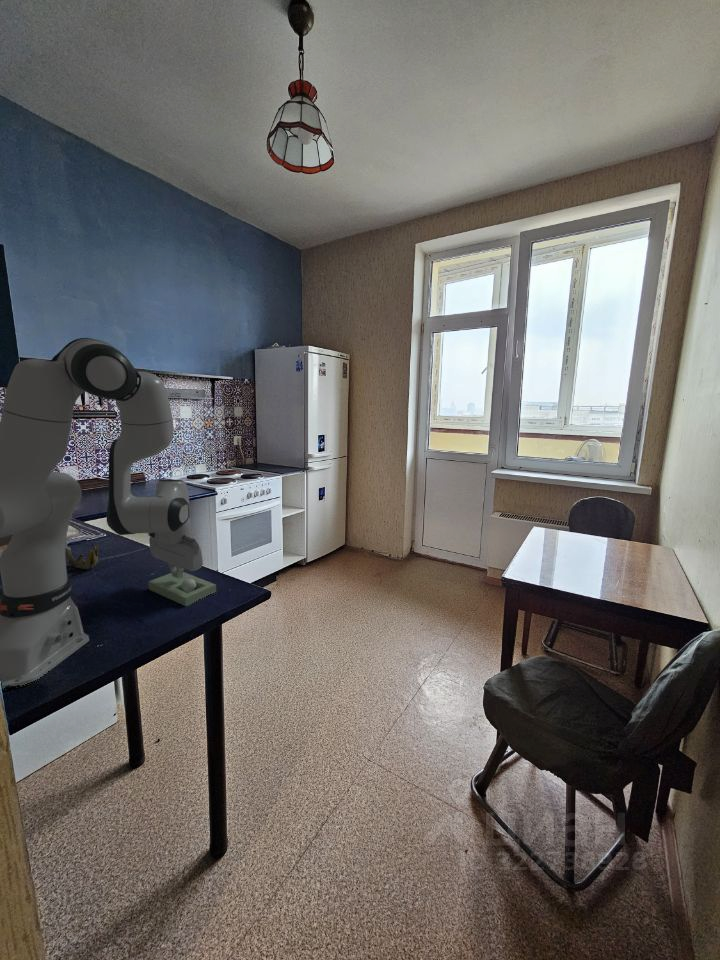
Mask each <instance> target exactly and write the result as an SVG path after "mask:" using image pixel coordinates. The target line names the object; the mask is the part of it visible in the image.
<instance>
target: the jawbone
mask: <svg viewBox="0 0 720 960" xmlns="http://www.w3.org/2000/svg"><path fill="white" fill-rule="evenodd" d="M91 545H92V547H93V548H94V549H92V550H91V549H90V550H88V551H87V555H88V556H87V557H88V558H87V560H86V559H85V556H84V555H83V553H80V554H79V556H78V557H77V560H76V559H75V558H74V556H73V554H72V553H71V554H70V552H69V551H68V549H66V555H65V558H66V564H69V565H71V566H73V567H75V568H78V569H81V570H91V569H93V568H95V567H96V565H98V563H99V545H98V543H96V545H95V543H93V542H92V544H91Z"/></svg>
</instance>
